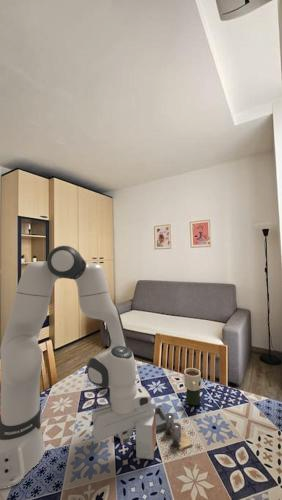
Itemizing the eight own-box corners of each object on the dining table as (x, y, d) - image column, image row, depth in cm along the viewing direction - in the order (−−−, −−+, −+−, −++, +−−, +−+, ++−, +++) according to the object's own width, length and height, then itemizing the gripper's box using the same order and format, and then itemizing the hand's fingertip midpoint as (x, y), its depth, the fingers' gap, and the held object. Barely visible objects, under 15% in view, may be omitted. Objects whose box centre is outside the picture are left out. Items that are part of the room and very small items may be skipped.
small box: (153, 460, 67) (152, 426, 67) (136, 457, 68) (135, 424, 68) (156, 439, 74) (155, 408, 75) (141, 436, 76) (140, 406, 76)
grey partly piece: (148, 435, 76) (148, 428, 76) (139, 417, 85) (139, 411, 85) (171, 427, 79) (171, 420, 79) (160, 411, 88) (160, 404, 88)
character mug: (203, 411, 87) (202, 379, 87) (186, 410, 88) (185, 378, 88) (199, 394, 98) (198, 365, 98) (184, 393, 98) (183, 365, 99)
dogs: (176, 451, 69) (176, 433, 70) (163, 428, 79) (162, 412, 79) (192, 445, 71) (191, 427, 72) (177, 424, 81) (176, 408, 81)
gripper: (93, 416, 63) (95, 463, 63) (155, 395, 71) (157, 438, 70) (90, 402, 69) (91, 446, 69) (147, 385, 77) (149, 424, 76)
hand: (125, 442), depth 70 cm, fingers closed
